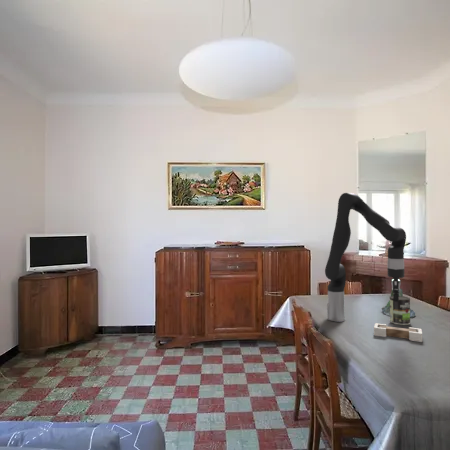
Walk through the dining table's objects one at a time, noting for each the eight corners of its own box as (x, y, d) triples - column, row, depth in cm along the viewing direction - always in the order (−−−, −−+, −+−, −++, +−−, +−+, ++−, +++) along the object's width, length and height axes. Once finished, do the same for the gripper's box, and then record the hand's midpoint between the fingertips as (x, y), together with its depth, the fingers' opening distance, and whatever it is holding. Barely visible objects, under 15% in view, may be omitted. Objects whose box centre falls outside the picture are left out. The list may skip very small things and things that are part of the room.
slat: (379, 335, 161) (379, 327, 161) (380, 333, 165) (379, 325, 164) (416, 340, 154) (416, 332, 154) (416, 337, 157) (415, 329, 157)
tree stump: (382, 317, 191) (379, 287, 196) (382, 316, 209) (379, 289, 213) (417, 319, 184) (414, 287, 188) (414, 318, 201) (411, 289, 205)
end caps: (374, 335, 161) (374, 327, 161) (375, 330, 167) (375, 323, 167) (422, 342, 151) (422, 333, 150) (421, 336, 157) (421, 328, 157)
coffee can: (415, 324, 177) (414, 298, 177) (399, 326, 174) (399, 300, 174) (400, 318, 187) (399, 294, 187) (385, 320, 184) (385, 296, 184)
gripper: (388, 265, 167) (388, 295, 167) (386, 268, 155) (387, 302, 155) (404, 265, 164) (404, 297, 164) (404, 269, 151) (404, 303, 151)
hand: (396, 299), depth 159 cm, fingers open, 8 cm apart
